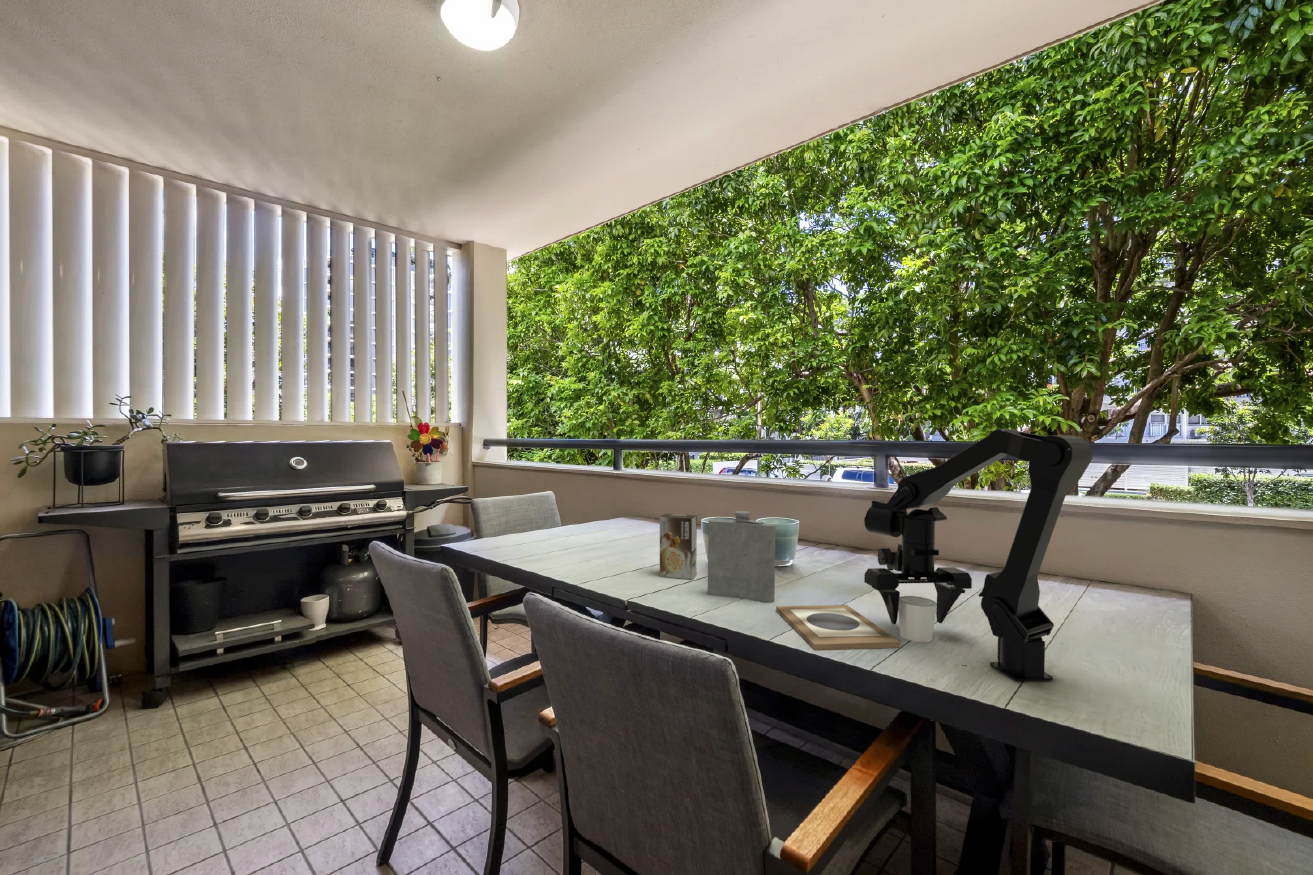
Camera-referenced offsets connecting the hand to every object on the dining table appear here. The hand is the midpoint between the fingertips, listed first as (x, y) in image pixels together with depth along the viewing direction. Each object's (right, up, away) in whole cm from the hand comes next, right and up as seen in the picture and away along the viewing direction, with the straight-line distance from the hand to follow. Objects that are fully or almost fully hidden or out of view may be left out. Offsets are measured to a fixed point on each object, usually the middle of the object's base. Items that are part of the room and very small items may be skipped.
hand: (916, 623), depth 109 cm
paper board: (-15, -2, +5) cm, 15 cm away
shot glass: (0, -3, 0) cm, 3 cm away
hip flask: (-30, -2, +25) cm, 39 cm away
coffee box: (-44, -2, +44) cm, 62 cm away
